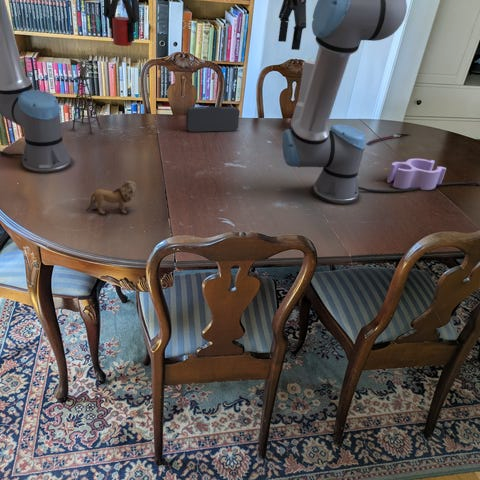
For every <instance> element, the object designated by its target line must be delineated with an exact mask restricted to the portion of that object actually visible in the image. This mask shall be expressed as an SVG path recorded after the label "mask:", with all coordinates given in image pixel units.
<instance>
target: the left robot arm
mask: <svg viewBox="0 0 480 480" xmlns="http://www.w3.org/2000/svg"><path fill="white" fill-rule="evenodd" d="M119 2H120V0H103V16H104V17H106V18H107V19H108V28H109V29H110V38H111V39H112V40H113V23H112V17H116V13H117V9H118V5H119ZM121 2H122V4H123V6H124V9H125V12H126V17H127V18H128V19H129V22H128V23H127V24H128V42H132V43H134V42H135V33H136V23H138V22H140V21H141V18H140V17H141V16H140V9H139V8H140V7H139V0H121ZM60 112H61V110H60V106H59V102H58V99H57V98H56V96H55V95H54V94H52V93H51V92H48V91H45V90H44V91H42V90H41V89H40V90H39V89H34V85H33V82H32V79H30V78H29V77H27V76H26V74H25V71H24V67H23V63H22V60H21V55H20V52H19V48H18V44H17V39H16V38H15V33H14V30H13V26H12V22H11V18H10V14H9V11H8V6H7V3H6V0H0V115H1V116H2V117H3V118H5V119H6V120H8V121H10V122H12V123H14V124H16V125H18V126H19V127H20V128H21V127H22V132H23V136H24V148H23V153H7V152H3V151H2V150H0V155H3V156H6V157H22V158H21V159H22V160H21V161H22V166H23V168H24V169H25V170H27V171H29V172H33V173H39V174H46V173H56V172H61V171H63V170H66V169H67V168H69V167H70V166H71V163H72V159H71V155H70V153H69V151H68V150H67V149H68V148H67V147H66V145H65V143H64V140H63V131H62V122H61V115H60Z"/></svg>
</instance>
